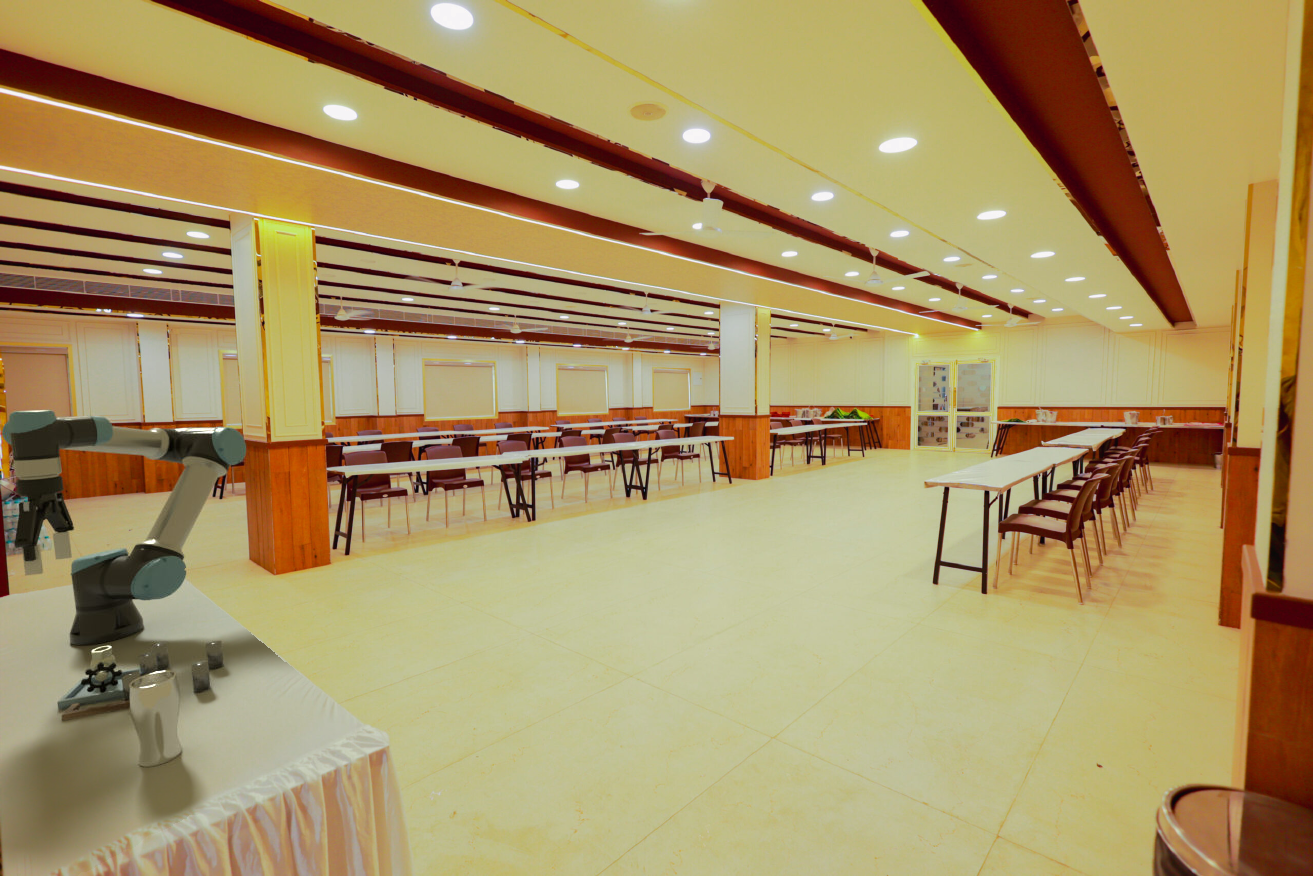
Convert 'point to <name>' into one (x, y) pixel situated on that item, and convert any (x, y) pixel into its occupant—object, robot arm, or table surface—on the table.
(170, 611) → the table surface
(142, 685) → the beer glass
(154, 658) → the spacers
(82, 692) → the tray
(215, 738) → the table surface
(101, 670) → the valve
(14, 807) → the table surface
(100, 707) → the hook tool
